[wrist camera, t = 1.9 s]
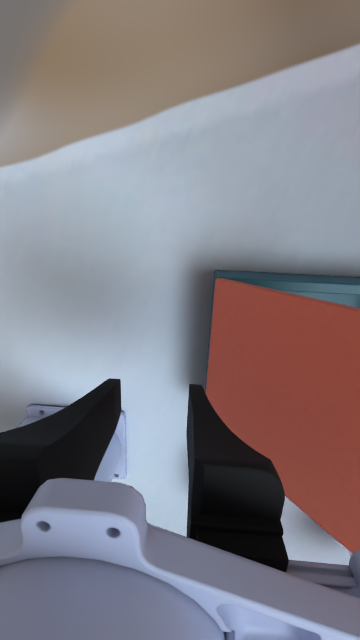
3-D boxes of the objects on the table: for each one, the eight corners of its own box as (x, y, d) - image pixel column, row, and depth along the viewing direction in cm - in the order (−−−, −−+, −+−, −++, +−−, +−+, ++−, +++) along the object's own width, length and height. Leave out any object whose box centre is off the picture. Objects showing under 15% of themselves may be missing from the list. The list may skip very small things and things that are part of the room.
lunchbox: (389, 278, 21) (428, 288, 17) (353, 405, 24) (380, 434, 21) (214, 269, 21) (218, 277, 18) (204, 394, 25) (205, 421, 22)
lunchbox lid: (609, 362, 7) (612, 368, 7) (454, 626, 11) (451, 638, 10) (221, 277, 18) (215, 278, 17) (208, 422, 21) (202, 425, 21)
